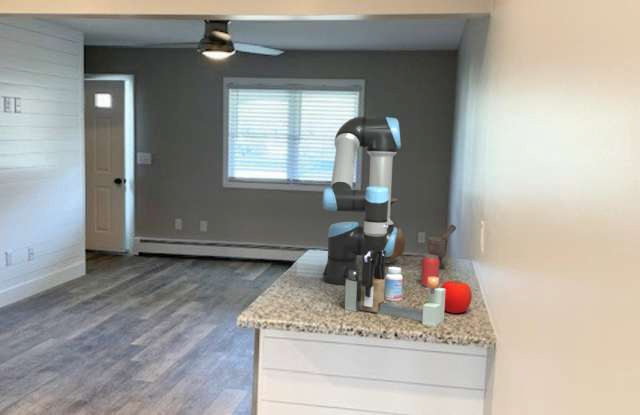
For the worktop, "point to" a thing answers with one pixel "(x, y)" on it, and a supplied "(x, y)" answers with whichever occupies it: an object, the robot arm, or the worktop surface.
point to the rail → (383, 308)
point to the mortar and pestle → (440, 245)
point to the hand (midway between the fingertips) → (372, 303)
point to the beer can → (429, 268)
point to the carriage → (374, 294)
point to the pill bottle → (393, 284)
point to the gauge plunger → (433, 283)
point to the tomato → (456, 296)
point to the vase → (398, 242)
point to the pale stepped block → (434, 308)
